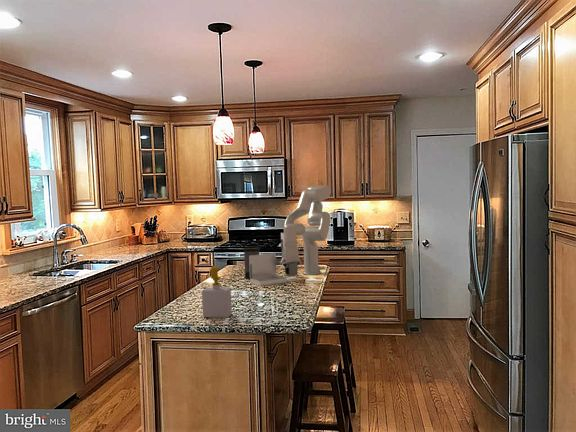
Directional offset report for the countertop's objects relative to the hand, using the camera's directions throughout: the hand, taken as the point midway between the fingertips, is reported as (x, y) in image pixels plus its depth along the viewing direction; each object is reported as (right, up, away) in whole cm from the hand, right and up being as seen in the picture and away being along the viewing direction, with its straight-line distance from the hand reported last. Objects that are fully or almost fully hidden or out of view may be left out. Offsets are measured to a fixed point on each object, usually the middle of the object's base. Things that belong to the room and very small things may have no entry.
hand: (291, 272), depth 308 cm
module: (0, -1, 0) cm, 1 cm away
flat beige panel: (0, -5, 0) cm, 5 cm away
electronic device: (-25, -5, +8) cm, 27 cm away
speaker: (-1, -2, +49) cm, 49 cm away
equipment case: (-14, -5, -7) cm, 17 cm away
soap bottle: (-35, -11, -81) cm, 89 cm away
